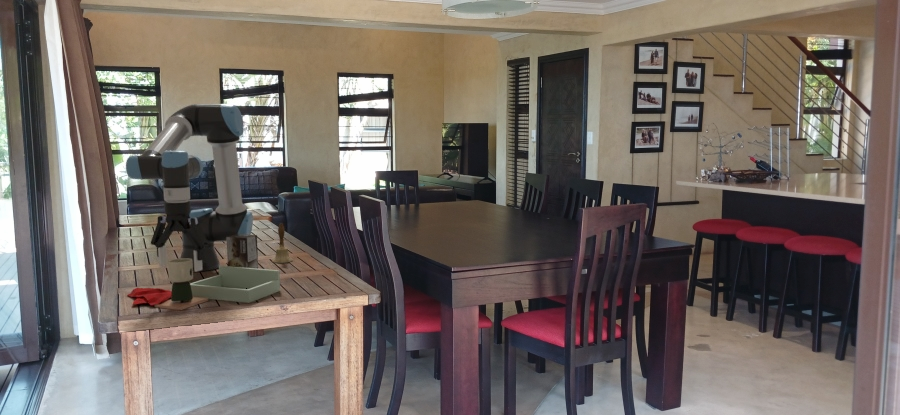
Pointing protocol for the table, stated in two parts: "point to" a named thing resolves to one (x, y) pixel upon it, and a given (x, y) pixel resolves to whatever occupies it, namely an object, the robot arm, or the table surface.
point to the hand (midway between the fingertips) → (180, 269)
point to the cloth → (150, 295)
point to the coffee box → (242, 251)
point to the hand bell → (281, 248)
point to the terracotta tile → (181, 303)
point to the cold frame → (238, 284)
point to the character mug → (181, 278)
